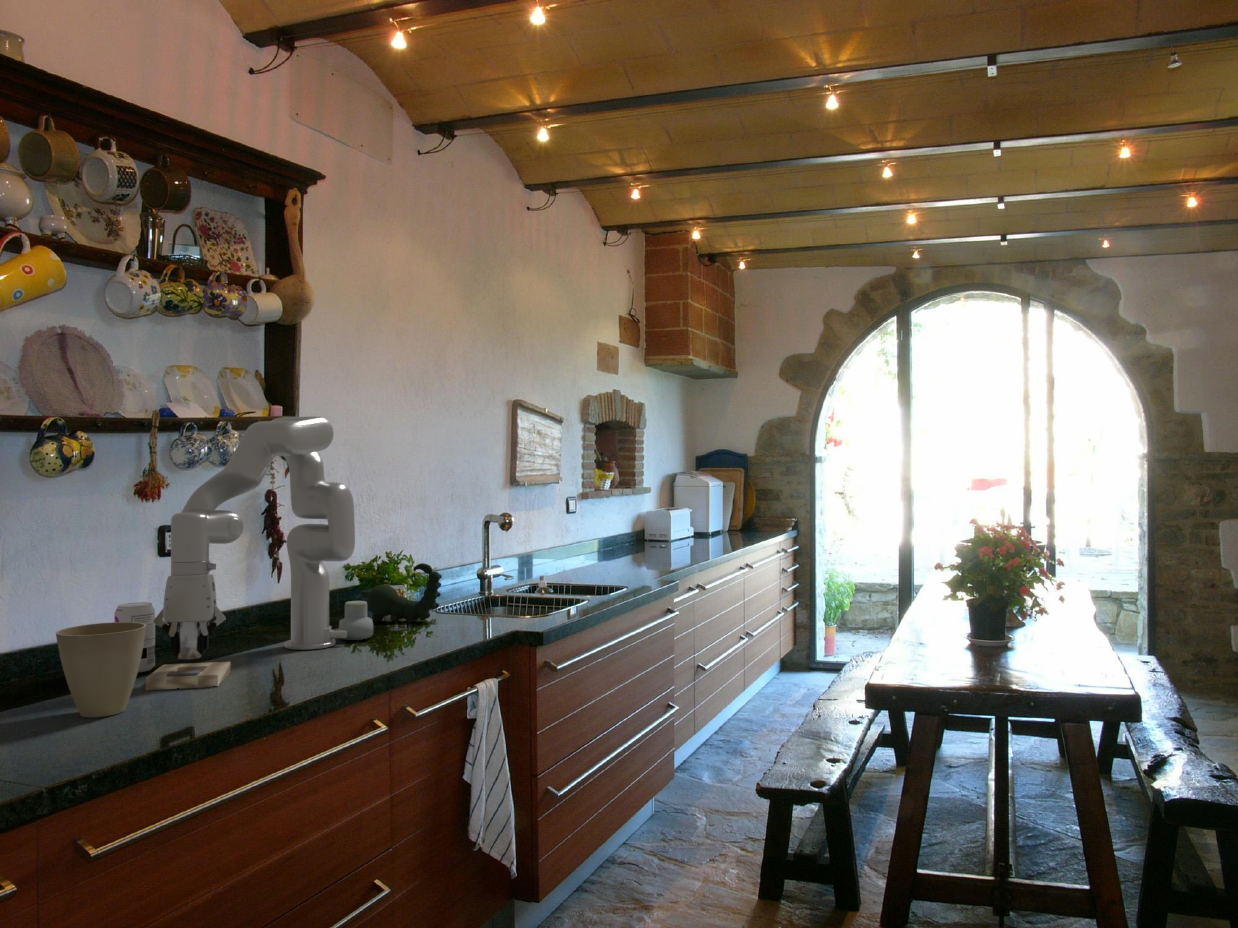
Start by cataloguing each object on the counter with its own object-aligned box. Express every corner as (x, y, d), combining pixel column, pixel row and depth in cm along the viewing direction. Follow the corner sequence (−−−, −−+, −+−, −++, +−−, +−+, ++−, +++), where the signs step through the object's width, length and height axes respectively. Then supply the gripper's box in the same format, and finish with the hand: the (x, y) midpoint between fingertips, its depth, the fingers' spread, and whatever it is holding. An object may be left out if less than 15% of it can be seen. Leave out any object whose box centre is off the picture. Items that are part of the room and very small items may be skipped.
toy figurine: (440, 625, 286) (362, 616, 289) (446, 563, 286) (367, 555, 289) (430, 630, 276) (350, 621, 279) (436, 566, 276) (355, 558, 279)
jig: (230, 672, 211) (230, 658, 211) (217, 686, 198) (217, 671, 198) (163, 675, 208) (163, 661, 208) (145, 689, 195) (145, 675, 195)
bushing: (203, 654, 206) (203, 618, 206) (198, 658, 201) (198, 621, 201) (181, 655, 205) (181, 618, 205) (175, 659, 200) (175, 622, 200)
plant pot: (125, 699, 187) (125, 619, 187) (159, 711, 177) (160, 626, 178) (42, 714, 175) (42, 628, 176) (74, 727, 166) (74, 637, 166)
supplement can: (110, 674, 209) (110, 607, 210) (119, 667, 217) (119, 602, 217) (150, 672, 212) (150, 606, 212) (158, 665, 220) (158, 601, 220)
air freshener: (374, 641, 250) (374, 603, 250) (342, 643, 247) (342, 605, 247) (369, 634, 260) (369, 598, 260) (338, 636, 257) (338, 600, 257)
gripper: (234, 566, 209) (234, 648, 208) (152, 568, 205) (152, 652, 205) (228, 570, 201) (228, 655, 201) (142, 572, 198) (142, 658, 198)
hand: (189, 652), depth 203 cm, fingers closed on bushing, 4 cm apart
